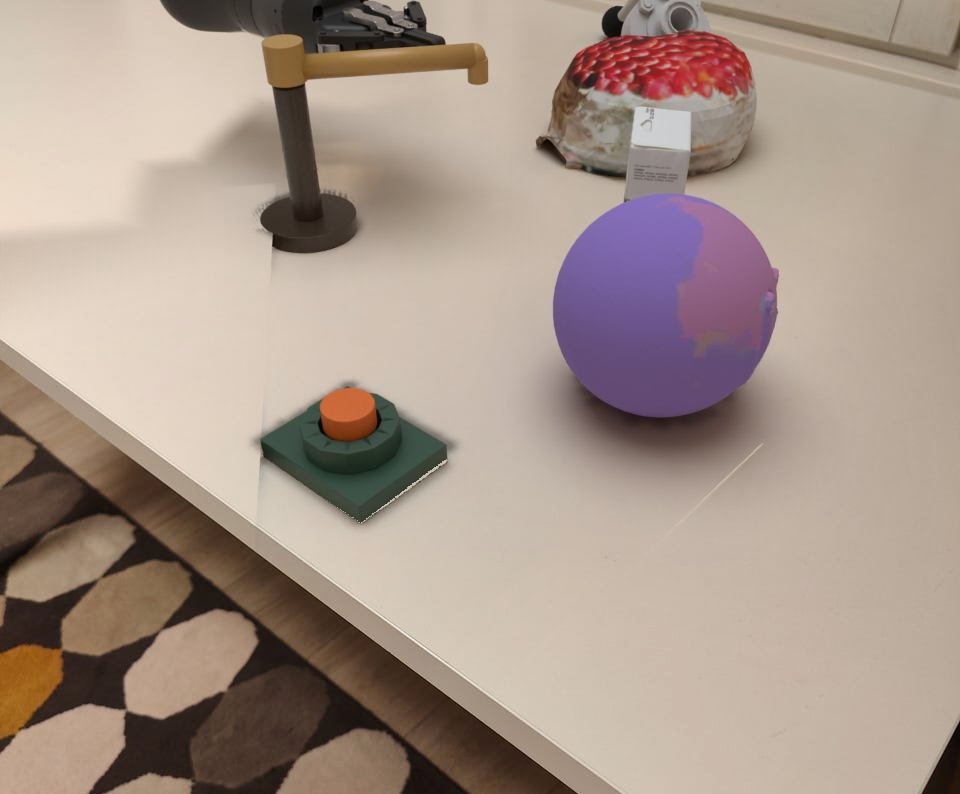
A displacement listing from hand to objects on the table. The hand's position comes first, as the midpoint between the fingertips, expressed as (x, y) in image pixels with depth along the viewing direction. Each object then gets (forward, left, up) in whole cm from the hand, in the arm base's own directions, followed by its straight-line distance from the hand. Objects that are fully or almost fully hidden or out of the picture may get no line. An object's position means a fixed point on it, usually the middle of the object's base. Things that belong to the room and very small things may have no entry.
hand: (440, 52), depth 82 cm
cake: (+23, +14, -15) cm, 31 cm away
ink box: (+17, -12, -15) cm, 25 cm away
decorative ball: (+12, -32, -15) cm, 37 cm away
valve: (+29, +36, -15) cm, 49 cm away
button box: (-10, -36, -15) cm, 40 cm away
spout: (-5, -2, -2) cm, 6 cm away
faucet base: (-13, -2, -15) cm, 20 cm away
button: (-10, -36, -12) cm, 39 cm away
